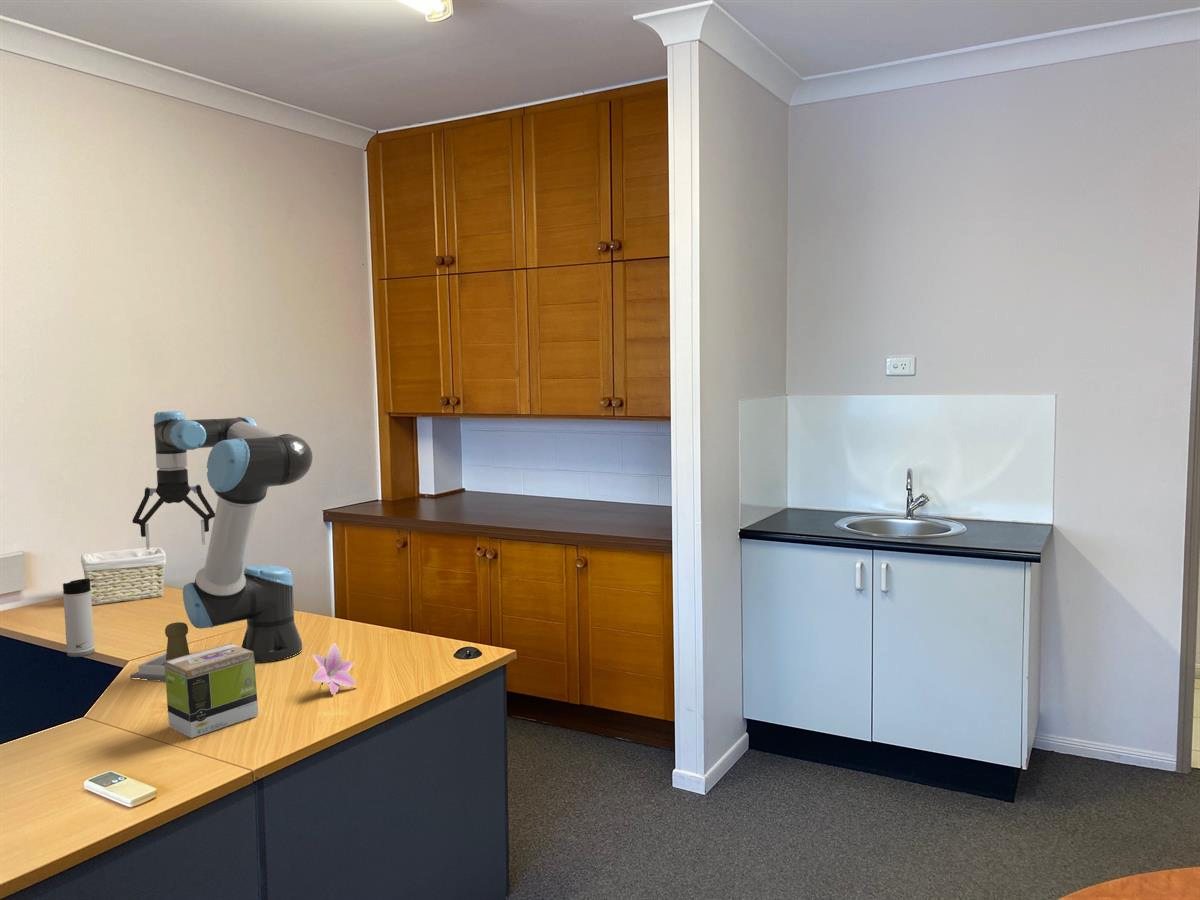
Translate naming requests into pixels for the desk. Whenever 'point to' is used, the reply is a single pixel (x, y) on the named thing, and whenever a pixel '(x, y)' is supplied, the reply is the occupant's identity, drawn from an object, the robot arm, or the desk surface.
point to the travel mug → (78, 618)
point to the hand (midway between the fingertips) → (176, 546)
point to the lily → (333, 670)
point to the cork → (176, 640)
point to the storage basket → (124, 574)
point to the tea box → (211, 689)
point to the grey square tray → (152, 669)
